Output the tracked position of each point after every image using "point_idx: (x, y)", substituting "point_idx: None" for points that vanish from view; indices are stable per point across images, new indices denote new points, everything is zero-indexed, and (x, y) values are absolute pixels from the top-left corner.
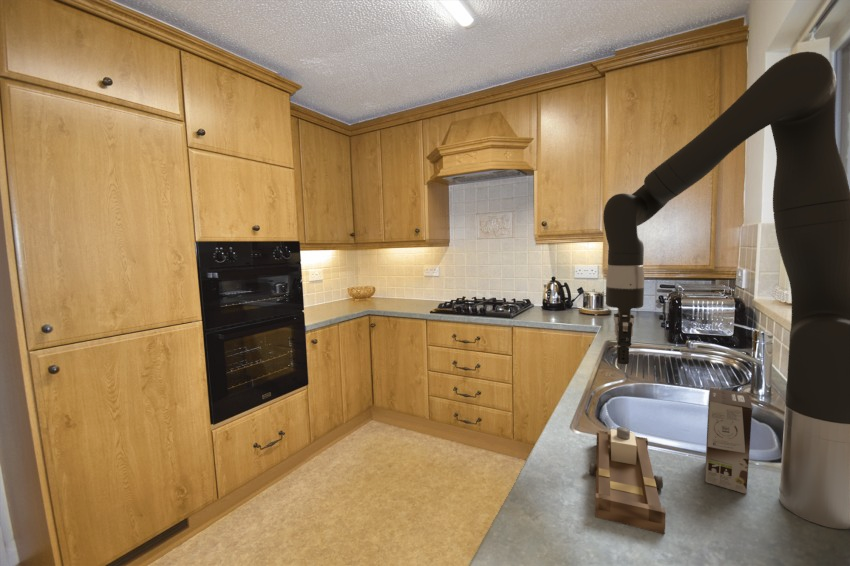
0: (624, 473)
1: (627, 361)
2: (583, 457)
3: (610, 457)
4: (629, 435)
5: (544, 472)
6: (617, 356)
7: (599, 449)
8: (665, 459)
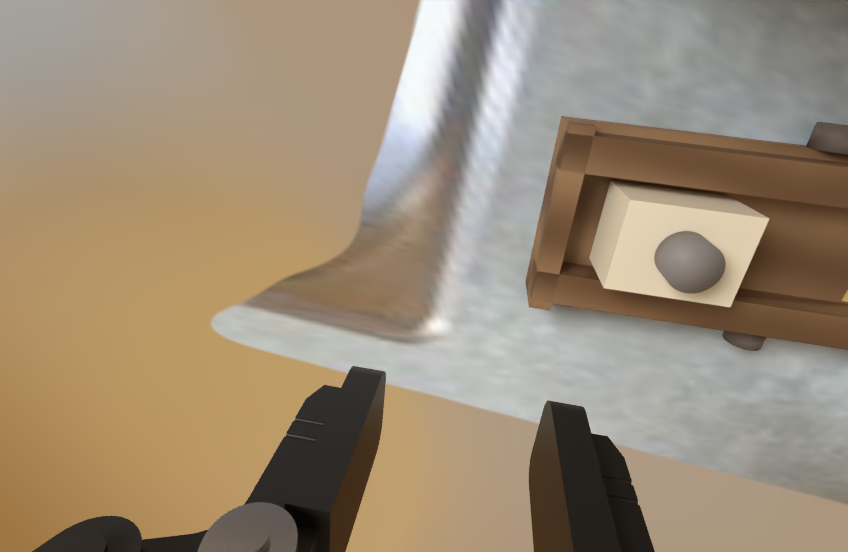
0: (788, 246)
1: (584, 428)
2: (622, 331)
3: None
4: (704, 238)
5: (727, 437)
6: (375, 452)
7: (697, 324)
8: (597, 49)
